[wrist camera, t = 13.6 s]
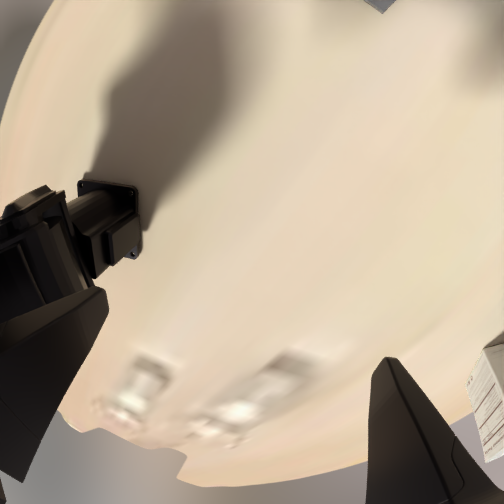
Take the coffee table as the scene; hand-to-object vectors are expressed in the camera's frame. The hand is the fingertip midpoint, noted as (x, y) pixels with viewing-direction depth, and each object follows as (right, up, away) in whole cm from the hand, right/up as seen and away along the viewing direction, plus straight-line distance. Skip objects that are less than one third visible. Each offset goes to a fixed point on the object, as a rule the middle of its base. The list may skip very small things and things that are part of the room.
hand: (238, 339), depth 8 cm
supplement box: (+31, -11, +15) cm, 36 cm away
